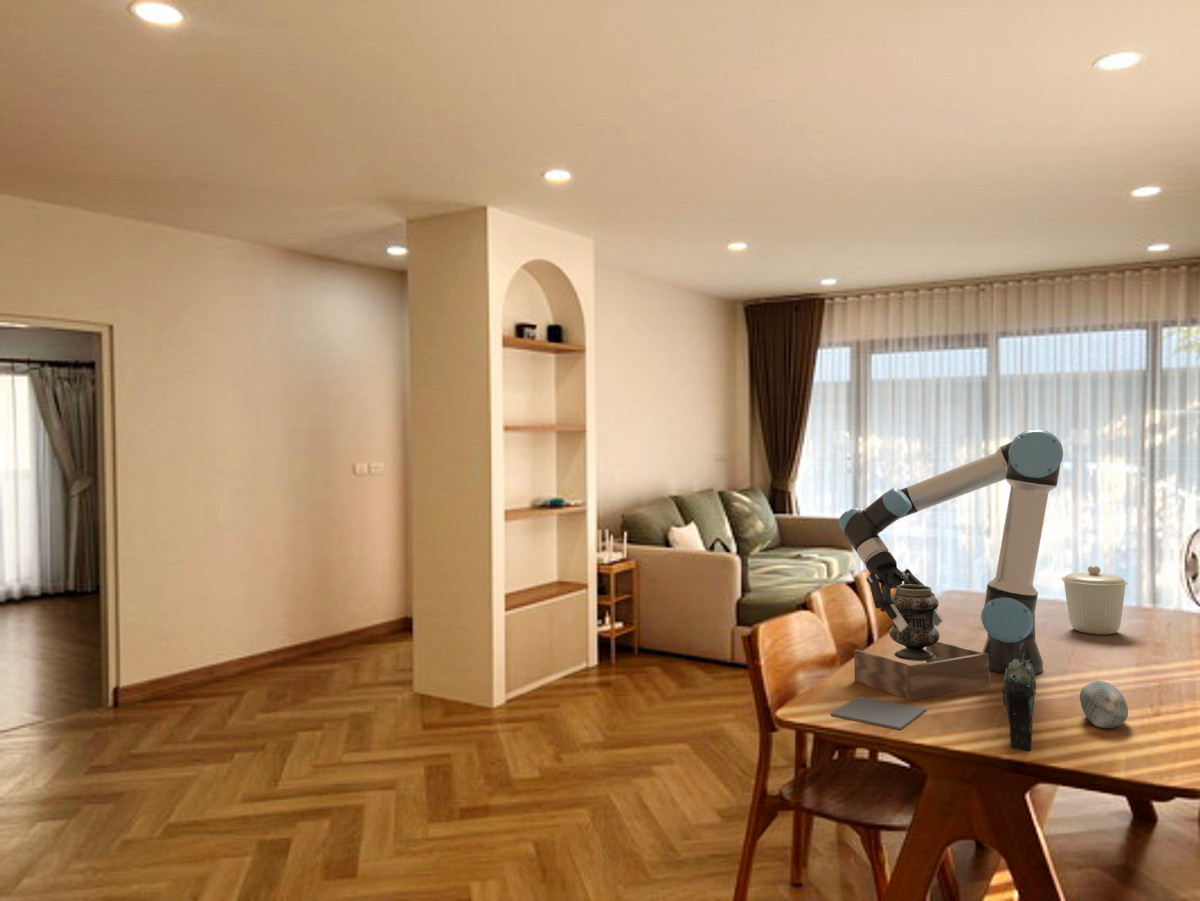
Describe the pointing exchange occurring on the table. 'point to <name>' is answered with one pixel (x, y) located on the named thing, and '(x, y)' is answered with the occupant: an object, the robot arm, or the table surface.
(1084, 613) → the canister
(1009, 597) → the robot arm
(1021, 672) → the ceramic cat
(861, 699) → the rubber mat
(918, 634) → the apothecary jar
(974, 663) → the walnut u-shaped frame
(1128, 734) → the table surface
